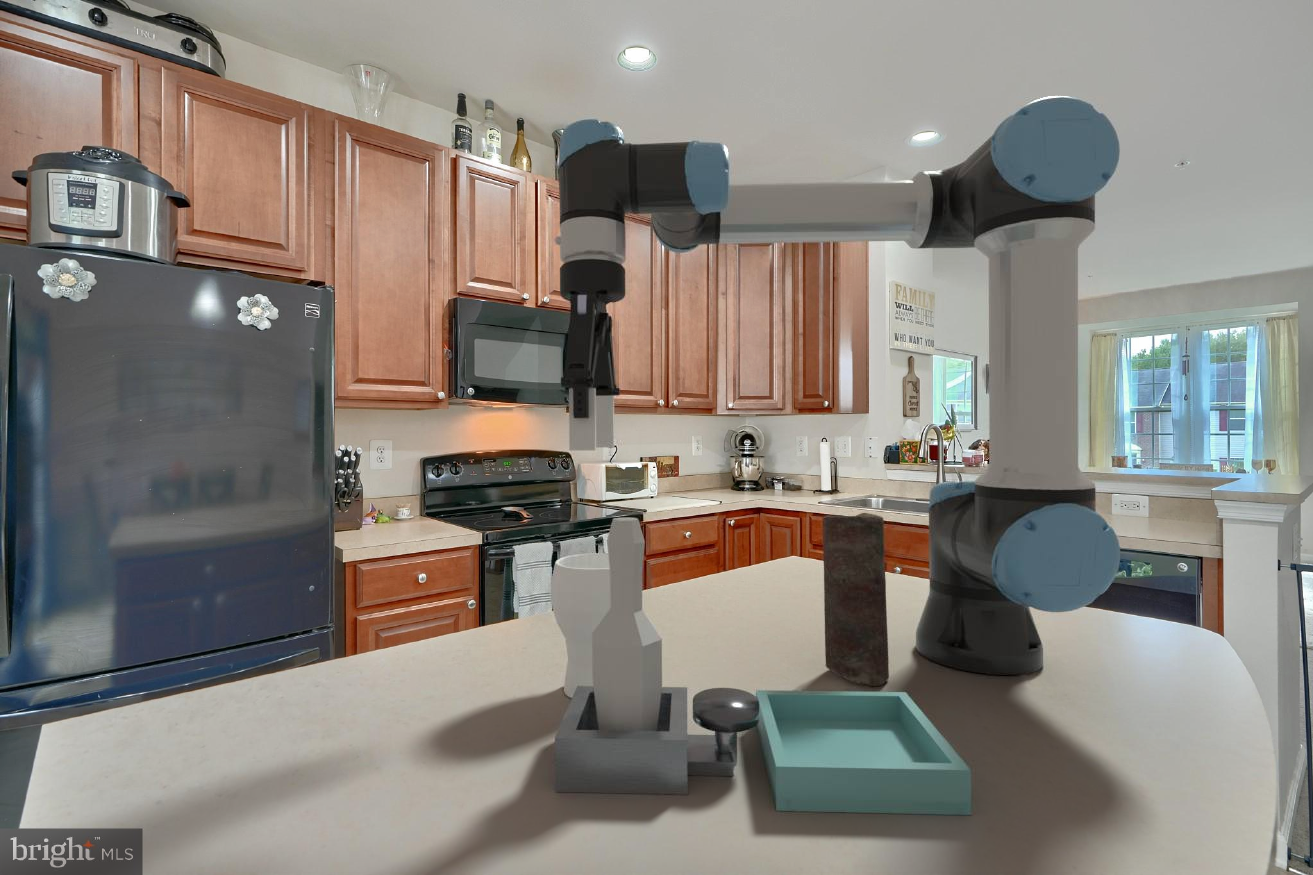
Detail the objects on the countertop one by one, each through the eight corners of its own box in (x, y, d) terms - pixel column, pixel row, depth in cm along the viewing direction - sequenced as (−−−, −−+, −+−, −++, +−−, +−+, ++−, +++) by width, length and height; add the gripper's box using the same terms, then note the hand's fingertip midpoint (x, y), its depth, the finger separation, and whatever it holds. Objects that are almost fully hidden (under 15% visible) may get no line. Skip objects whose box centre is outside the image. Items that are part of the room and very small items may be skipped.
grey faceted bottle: (581, 753, 60) (579, 517, 60) (641, 737, 63) (639, 513, 63) (610, 785, 54) (609, 525, 54) (674, 765, 57) (673, 520, 57)
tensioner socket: (753, 733, 64) (752, 678, 64) (766, 796, 53) (766, 729, 53) (577, 730, 64) (577, 675, 64) (555, 791, 53) (554, 725, 53)
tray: (905, 726, 65) (905, 692, 65) (971, 815, 50) (971, 770, 50) (756, 724, 66) (755, 690, 66) (776, 810, 51) (776, 766, 51)
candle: (820, 683, 76) (819, 514, 76) (826, 662, 83) (825, 507, 83) (888, 691, 74) (888, 517, 73) (889, 669, 80) (888, 510, 80)
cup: (630, 712, 69) (629, 571, 69) (537, 704, 71) (535, 568, 71) (651, 675, 79) (650, 553, 79) (569, 669, 81) (568, 550, 81)
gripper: (581, 289, 87) (582, 446, 87) (531, 232, 62) (533, 452, 62) (636, 288, 86) (637, 446, 86) (608, 229, 61) (610, 451, 61)
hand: (594, 449), depth 74 cm, fingers open, 13 cm apart
